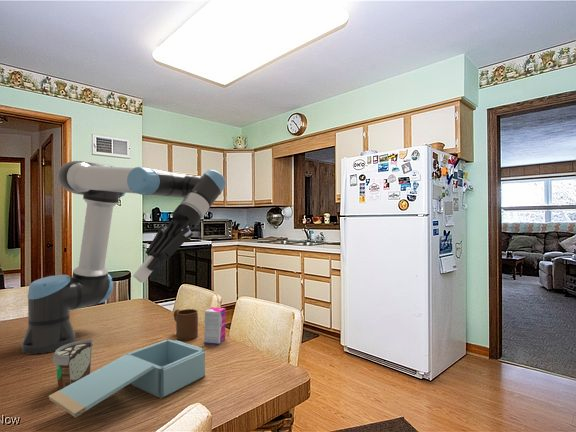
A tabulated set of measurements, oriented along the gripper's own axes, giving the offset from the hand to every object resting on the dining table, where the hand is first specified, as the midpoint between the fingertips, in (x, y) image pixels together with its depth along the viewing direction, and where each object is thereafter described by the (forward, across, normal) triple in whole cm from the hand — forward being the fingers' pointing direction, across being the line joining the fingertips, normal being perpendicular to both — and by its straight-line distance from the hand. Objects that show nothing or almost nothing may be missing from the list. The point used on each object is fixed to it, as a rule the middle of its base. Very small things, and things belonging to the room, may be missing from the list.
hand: (138, 279), depth 84 cm
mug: (-1, +24, -43) cm, 50 cm away
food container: (+27, +18, -13) cm, 35 cm away
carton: (+15, +1, -26) cm, 30 cm away
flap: (+15, +1, -16) cm, 21 cm away
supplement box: (-3, +10, -45) cm, 46 cm away
